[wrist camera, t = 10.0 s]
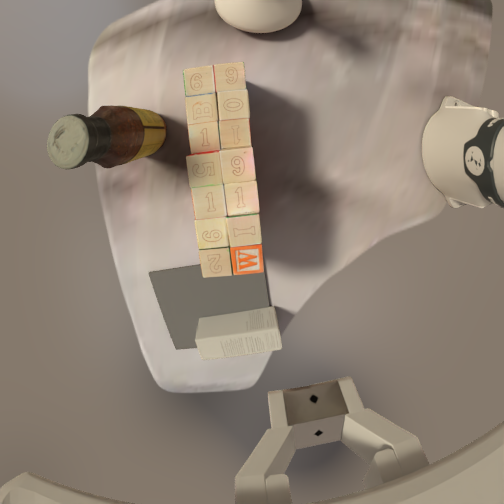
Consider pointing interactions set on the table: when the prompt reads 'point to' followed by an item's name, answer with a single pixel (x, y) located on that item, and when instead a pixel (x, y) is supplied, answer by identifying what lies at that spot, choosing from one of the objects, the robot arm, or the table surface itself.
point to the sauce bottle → (105, 137)
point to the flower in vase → (259, 14)
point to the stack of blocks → (222, 170)
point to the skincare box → (238, 334)
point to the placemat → (203, 298)
